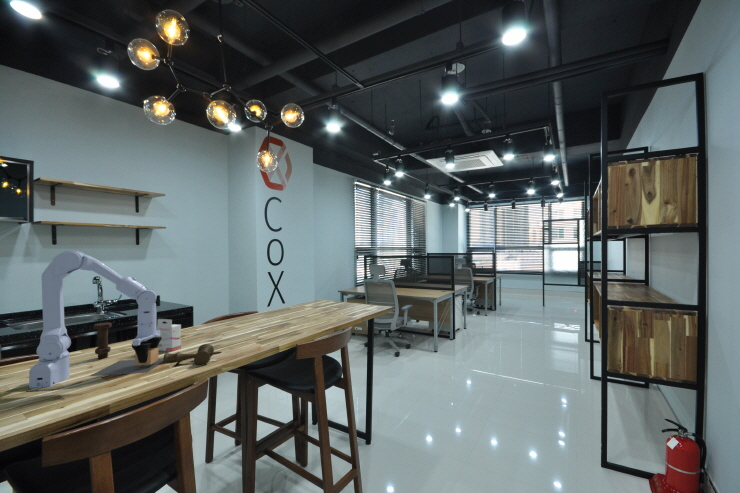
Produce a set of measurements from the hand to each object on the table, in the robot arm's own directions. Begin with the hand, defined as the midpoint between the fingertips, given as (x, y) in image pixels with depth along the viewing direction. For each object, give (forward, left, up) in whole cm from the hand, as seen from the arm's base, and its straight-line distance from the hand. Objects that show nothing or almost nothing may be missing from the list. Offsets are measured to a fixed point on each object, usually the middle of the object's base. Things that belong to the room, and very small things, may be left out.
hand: (147, 360), depth 119 cm
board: (0, +5, -3) cm, 6 cm away
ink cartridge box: (+21, +2, -4) cm, 21 cm away
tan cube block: (0, 0, -1) cm, 1 cm away
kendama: (+5, -14, -4) cm, 15 cm away
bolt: (+13, +23, -4) cm, 27 cm away
